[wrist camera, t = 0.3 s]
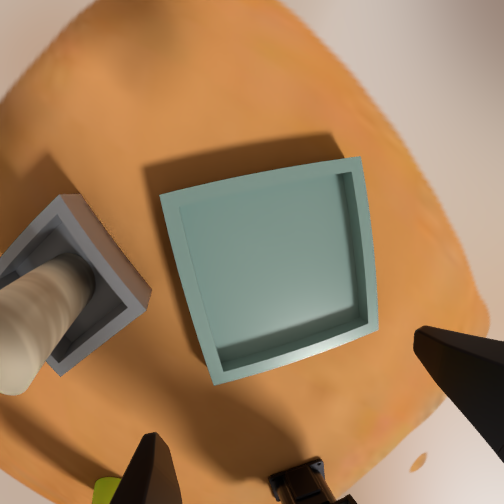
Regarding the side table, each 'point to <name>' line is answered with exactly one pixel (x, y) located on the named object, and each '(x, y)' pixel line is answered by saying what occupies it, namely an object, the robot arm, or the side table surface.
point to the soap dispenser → (105, 490)
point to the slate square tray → (101, 262)
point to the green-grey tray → (275, 264)
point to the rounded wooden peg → (39, 316)
